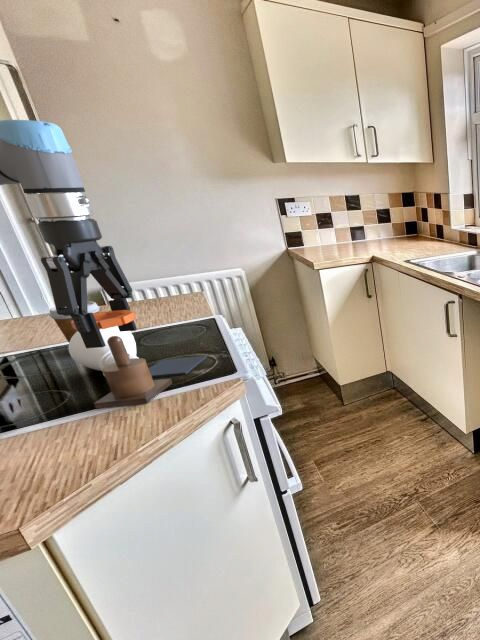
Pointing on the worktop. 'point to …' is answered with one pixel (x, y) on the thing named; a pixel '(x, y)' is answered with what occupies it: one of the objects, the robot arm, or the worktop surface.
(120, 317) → the ring
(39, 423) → the worktop surface
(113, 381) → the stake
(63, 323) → the disposable coffee cup
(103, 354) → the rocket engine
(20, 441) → the worktop surface
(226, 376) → the worktop surface
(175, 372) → the mat
